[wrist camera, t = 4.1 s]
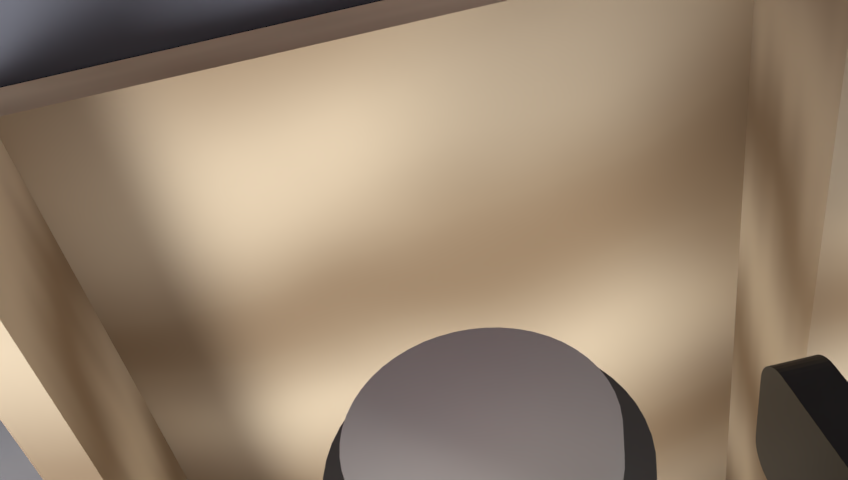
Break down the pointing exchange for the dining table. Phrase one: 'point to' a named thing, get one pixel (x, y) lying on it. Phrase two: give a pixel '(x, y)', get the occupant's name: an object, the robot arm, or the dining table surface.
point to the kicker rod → (492, 415)
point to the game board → (420, 223)
